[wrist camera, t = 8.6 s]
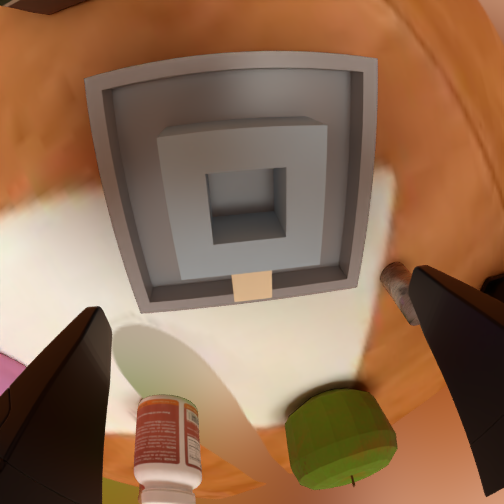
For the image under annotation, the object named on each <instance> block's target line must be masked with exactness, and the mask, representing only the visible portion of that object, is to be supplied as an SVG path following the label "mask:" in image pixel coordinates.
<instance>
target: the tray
mask: <svg viewBox="0 0 504 504" xmlns="http://www.w3.org/2000/svg"><path fill="white" fill-rule="evenodd" d="M84 82H85V91H86V99H87V106H88V113H89V119H90V126H91V132H92V137H93V143H94V148H95V154H96V159H97V164H98V168H99V173H100V178H101V182H102V186H103V191H104V195H105V199H106V203H107V207H108V211H109V215H110V218H111V222H112V226H113V229H114V233H115V237H116V240H117V243H118V247H119V250H120V253H121V257H122V260H123V263H124V266H125V269H126V272H127V276H128V279H129V282H130V284H131V287H132V290H133V293H134V296H135V299H136V302H137V304H138V307H139V310H140V313H141V314H142V313H154V312H166V311H177V310H187V309H197V308H207V307H216V306H226V305H234V304H243V303H251V302H259V301H267V300H275V299H282V298H289V297H297V296H304V295H311V294H317V293H324V292H331V291H337V290H343V289H349V288H356V287H357V285H358V279H359V274H360V268H361V263H362V257H363V250H364V244H365V237H366V231H367V223H368V216H369V208H370V199H371V190H372V181H373V170H374V158H375V144H376V126H377V98H378V59H377V58H370V57H363V56H355V55H345V54H335V53H322V52H304V51H248V52H230V53H217V54H206V55H197V56H189V57H181V58H174V59H168V60H162V61H156V62H151V63H145V64H140V65H135V66H131V67H126V68H122V69H118V70H114V71H110V72H106V73H102V74H98V75H95V76H91V77H88V78H84ZM298 116H307V117H309V118H312V119H314V120H316V121H319V122H321V123H323V124H325V125H327V163H326V186H325V204H324V219H323V233H322V246H321V258H320V265H312V266H304V267H295V268H287V269H278V270H272V298H266V299H258V300H249V301H241V302H235V301H234V293H233V286H232V278H231V275H225V276H216V277H206V278H197V279H187V280H181V275H180V270H179V266H178V261H177V256H176V251H175V246H174V241H173V236H172V231H171V225H170V220H169V215H168V209H167V203H166V197H165V191H164V185H163V179H162V173H161V166H160V159H159V152H158V145H157V137H158V136H159V135H160V133H161V132H162V131H163V130H164V129H165V128H166V127H169V126H176V125H184V124H192V123H200V122H210V121H220V120H232V119H246V118H264V117H298ZM208 182H209V191H210V200H211V209H212V217H217V216H226V215H236V214H246V213H257V212H268V211H274V178H273V168H268V169H254V170H242V171H231V172H220V173H211V174H208Z"/></svg>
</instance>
